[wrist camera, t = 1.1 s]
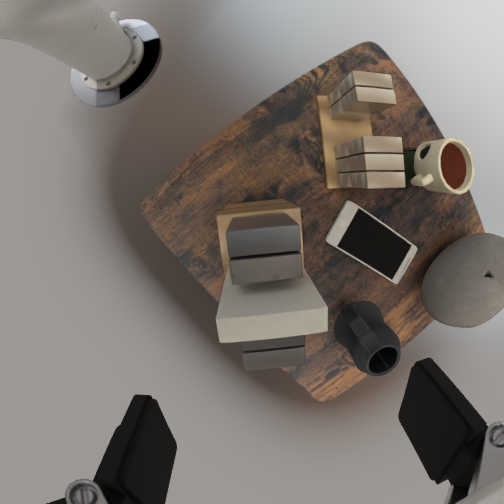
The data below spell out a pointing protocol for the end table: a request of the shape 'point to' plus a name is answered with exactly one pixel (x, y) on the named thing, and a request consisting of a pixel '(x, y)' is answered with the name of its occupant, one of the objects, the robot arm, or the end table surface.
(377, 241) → the smartphone
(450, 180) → the character mug
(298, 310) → the grey flat block
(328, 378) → the end table surface
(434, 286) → the grey oval stone
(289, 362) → the wooden stand
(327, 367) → the end table surface
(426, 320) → the end table surface
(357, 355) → the mug
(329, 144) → the grey-brown wooden block stand
